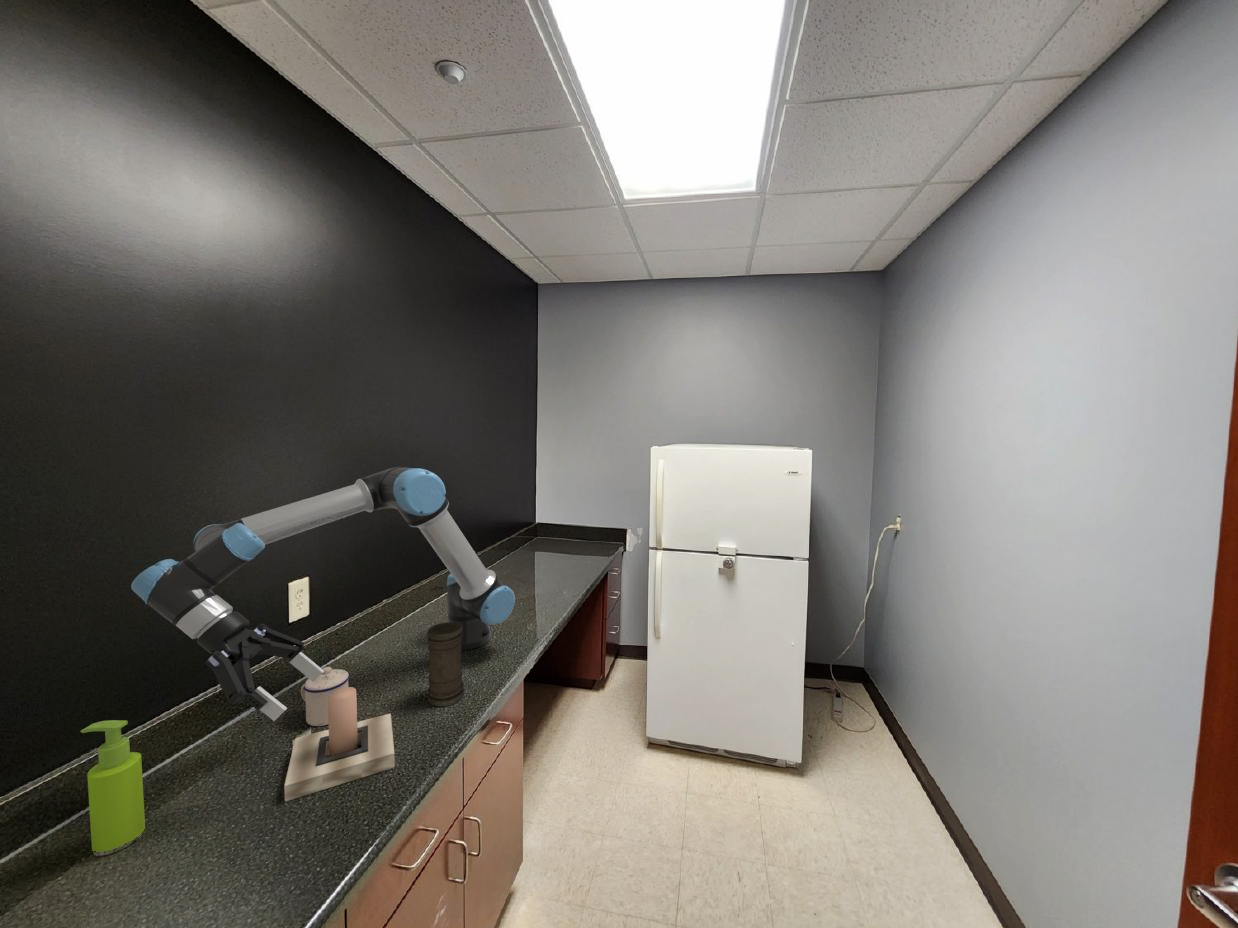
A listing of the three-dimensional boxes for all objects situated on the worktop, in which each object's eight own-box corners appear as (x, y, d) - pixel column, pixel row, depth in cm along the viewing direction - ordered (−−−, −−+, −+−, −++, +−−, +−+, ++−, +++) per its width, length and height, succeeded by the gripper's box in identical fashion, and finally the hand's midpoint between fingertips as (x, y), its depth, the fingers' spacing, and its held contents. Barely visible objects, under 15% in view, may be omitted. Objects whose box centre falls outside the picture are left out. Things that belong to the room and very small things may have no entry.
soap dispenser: (111, 826, 77) (104, 713, 76) (155, 823, 78) (149, 711, 77) (73, 858, 71) (65, 736, 70) (120, 855, 72) (113, 734, 71)
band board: (390, 725, 105) (390, 711, 104) (394, 767, 92) (394, 751, 91) (295, 751, 96) (295, 736, 96) (284, 801, 83) (284, 783, 83)
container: (452, 708, 111) (451, 637, 110) (419, 704, 113) (418, 634, 112) (471, 689, 120) (470, 622, 119) (440, 685, 122) (439, 619, 121)
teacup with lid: (359, 707, 112) (357, 661, 111) (327, 730, 103) (325, 680, 102) (319, 700, 114) (317, 655, 114) (285, 722, 106) (283, 673, 105)
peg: (358, 747, 97) (356, 684, 96) (357, 762, 93) (356, 696, 92) (330, 755, 95) (328, 690, 94) (328, 771, 90) (326, 703, 89)
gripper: (244, 614, 101) (319, 675, 104) (142, 671, 76) (245, 750, 79) (270, 589, 101) (343, 651, 104) (176, 639, 76) (277, 718, 79)
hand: (301, 694), depth 91 cm, fingers open, 13 cm apart
